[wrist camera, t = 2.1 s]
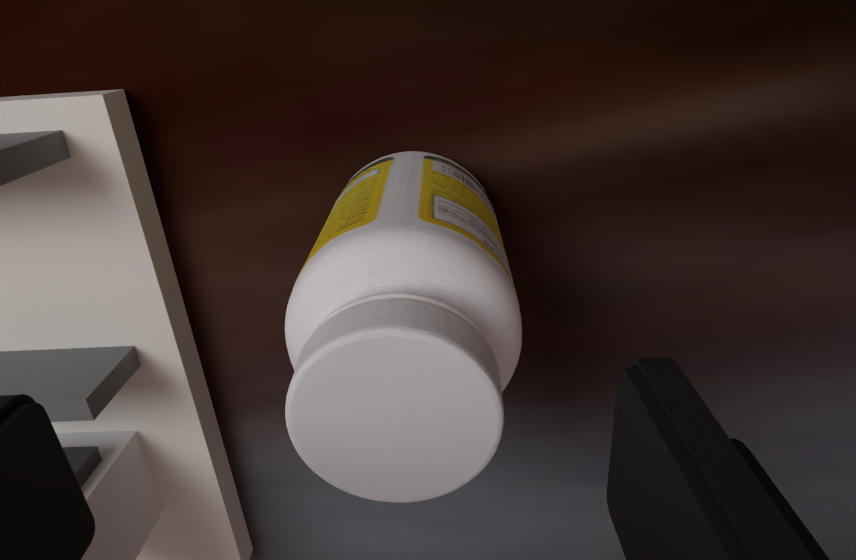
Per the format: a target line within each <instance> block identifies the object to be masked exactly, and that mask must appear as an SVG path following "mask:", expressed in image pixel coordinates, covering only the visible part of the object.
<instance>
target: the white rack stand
mask: <svg viewBox="0 0 856 560" xmlns="http://www.w3.org/2000/svg"><path fill="white" fill-rule="evenodd" d="M18 394H24V395H29V396H30V397H32V398H33V399H34V400H35V402H36V403H39V404H41V405H42V406H43V407H44V409H45V410H46V412H47V415H48V417H49V419H50V421H51V423H52V426H53V428H54V430H55V432H56V435H57V437H58V439H59V441H60V443H61V446H62V448H63V450H64V452H65V455H66V457H67V459H68V461H69V464H70V466H71V468H72V470H73V472H74V475H75V477H76V479H77V481H78V484H79V486H80V488H81V490H82V492H83V495H84V497H85V499H86V501H87V504H88V506H89V508H90V510H91V512H92V515H93V517H94V520H95V534H94V537H93V540H92V542H91V544H90V546H89V547H88V549H87V551H86V552H85V554H84V555H83V557H82V559H81V560H250V557H251V554H252V551H253V547H252V544H251V540H250V536H249V533H248V529H247V526H246V522H245V519H244V515H243V512H242V508H241V504H240V501H239V497H238V494H237V490H236V487H235V483H234V480H233V476H232V472H231V469H230V465H229V462H228V458H227V455H226V451H225V448H224V444H223V440H222V437H221V433H220V430H219V426H218V423H217V419H216V416H215V412H214V408H213V405H212V401H211V398H210V394H209V391H208V387H207V384H206V380H205V376H204V373H203V369H202V366H201V362H200V359H199V355H198V352H197V348H196V344H195V341H194V337H193V334H192V330H191V327H190V323H189V320H188V316H187V312H186V309H185V305H184V302H183V298H182V295H181V291H180V288H179V284H178V280H177V277H176V273H175V270H174V266H173V263H172V259H171V256H170V252H169V248H168V245H167V241H166V238H165V234H164V231H163V227H162V224H161V220H160V216H159V213H158V209H157V206H156V202H155V199H154V195H153V192H152V188H151V184H150V181H149V177H148V174H147V170H146V167H145V163H144V160H143V156H142V153H141V149H140V145H139V142H138V138H137V135H136V131H135V128H134V124H133V121H132V117H131V113H130V110H129V106H128V103H127V99H126V96H125V92H124V89H120V90H104V91H89V92H74V93H58V94H43V95H28V96H12V97H0V396H1V395H18Z"/></svg>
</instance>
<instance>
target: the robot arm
mask: <svg viewBox="0 0 856 560" xmlns="http://www.w3.org/2000/svg"><path fill="white" fill-rule="evenodd" d="M607 503H608V508H609V513H610V516H611V519H612V522H613V524H614V527H615V530H616V533H617V535H618V538H619V541H620V543H621V546H622V549H623V552H624V554H625V557H626V560H829V558H828V557H827V556H826V554H825V553H824V551H823V550H822V549H821V547H820V546H819V545H818V543H817V542H816V540H815V539H814V538H813V536H812V535H811V534H810V532H809V531H808V529H807V528H806V527H805V525H804V524H803V523H802V521H801V520H800V519H799V517H798V516H797V514H796V513H795V512H794V510H793V509H792V508H791V506H790V505H789V503H788V502H787V501H786V499H785V498H784V497H783V495H782V494H781V493H780V491H779V490H778V488H777V487H776V486H775V484H774V483H773V482H772V480H771V479H770V477H769V476H768V475H767V473H766V472H765V471H764V469H763V468H762V467H761V465H760V464H759V462H758V461H757V460H756V458H755V457H754V456H753V454H752V453H751V451H750V450H749V449H748V448H747V447H746V446H745V445H744V444H743V443H742V442H741V441H739V440H737V439H729V437H728V436H727V435H726V433H725V432H724V430H723V429H722V427H721V426H720V425H719V423H718V422H717V420H716V419H715V417H714V416H713V415H712V413H711V412H710V410H709V409H708V408H707V406H706V405H705V403H704V402H703V400H702V399H701V398H700V396H699V395H698V393H697V392H696V390H695V389H694V388H693V386H692V385H691V383H690V382H689V380H688V379H687V378H686V376H685V375H684V373H683V372H682V371H681V369H680V368H679V366H678V365H677V363H676V362H675V361H674V360H673V359H672V358H670V357H658V358H641V359H634V360H632V362H631V364H630V368H626V369H621V370H620V372H619V376H618V386H617V396H616V406H615V416H614V425H613V435H612V445H611V455H610V465H609V475H608V485H607ZM94 534H95V520H94V517H93V515H92V512H91V510H90V508H89V506H88V504H87V501H86V499H85V497H84V495H83V492H82V490H81V488H80V486H79V484H78V481H77V479H76V477H75V475H74V472H73V470H72V468H71V466H70V464H69V461H68V459H67V457H66V455H65V452H64V450H63V448H62V446H61V443H60V441H59V439H58V437H57V435H56V432H55V430H54V428H53V426H52V423H51V421H50V419H49V417H48V415H47V412H46V410H45V409H44V407H43V406H42V405H41V404H39V403H36V402H35V400H34V399H33V398H32V397H30V396H29V395H24V394H18V395H1V396H0V560H81V559H82V557H83V555H84V554H85V552H86V551H87V549H88V547H89V546H90V544H91V542H92V540H93V537H94Z"/></svg>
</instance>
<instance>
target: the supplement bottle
mask: <svg viewBox="0 0 856 560" xmlns="http://www.w3.org/2000/svg"><path fill="white" fill-rule="evenodd" d="M285 337H286V344H287V349H288V353H289V357H290V360H291V363H292V366H293V368H294V374H293V377H292V380H291V383H290V386H289V389H288V393H287V398H286V408H285V417H286V425H287V429H288V432H289V436H290V439H291V441H292V443H293V445H294V447H295V449H296V451H297V452H298V454H299V455H300V457H301V458H302V459H303V461H304V462H305V463H306V464H307V465H308V466H309V467H310V468H311V469H312V470H313V471H314V472H315V473H316V474H317V475H319V476H320V477H321V478H322V479H324V480H325V481H327V482H328V483H330V484H331V485H333V486H335V487H337V488H339V489H341V490H343V491H345V492H348V493H350V494H352V495H356V496H359V497H362V498H365V499H370V500H375V501H384V502H398V503H403V502H416V501H423V500H427V499H431V498H435V497H439V496H442V495H444V494H447V493H449V492H452V491H454V490H456V489H458V488H459V487H461V486H463V485H465V484H466V483H468V482H469V481H471V480H472V479H473V478H474V477H476V476H477V475H478V474H479V473H480V472H481V471H482V470H483V469H484V468H485V467H486V465H487V464H488V463H489V461H490V460H491V459H492V457H493V455H494V453H495V452H496V450H497V447H498V445H499V442H500V440H501V437H502V432H503V427H504V406H503V399H502V392H503V390H504V389H505V387H506V386H507V384H508V383H509V381H510V379H511V377H512V375H513V373H514V371H515V368H516V366H517V363H518V360H519V356H520V351H521V345H522V323H521V314H520V307H519V302H518V298H517V294H516V291H515V286H514V283H513V279H512V276H511V272H510V269H509V264H508V260H507V257H506V253H505V249H504V245H503V241H502V237H501V234H500V230H499V227H498V223H497V219H496V216H495V212H494V209H493V206H492V203H491V201H490V199H489V197H488V195H487V194H486V192H485V190H484V189H483V187H482V186H481V185H480V183H479V182H478V181H477V179H476V178H475V177H474V176H473V175H472V174H470V173H469V172H468V171H467V170H466V169H464V168H463V167H461V166H460V165H459V164H457V163H455V162H453V161H452V160H450V159H447V158H445V157H442V156H439V155H436V154H432V153H426V152H416V151H408V152H400V153H394V154H391V155H387V156H384V157H382V158H379V159H377V160H375V161H373V162H371V163H370V164H368V165H366V166H365V167H364V168H362V169H361V170H360V171H358V172H357V173H356V174H355V175H354V176H353V177H352V178H351V179H350V181H349V182H348V183H347V185H346V186H345V188H344V189H343V190H342V192H341V194H340V195H339V197H338V199H337V201H336V203H335V205H334V207H333V209H332V211H331V213H330V215H329V217H328V219H327V221H326V223H325V225H324V227H323V229H322V231H321V233H320V235H319V237H318V239H317V241H316V243H315V245H314V247H313V249H312V251H311V253H310V255H309V256H308V258H307V260H306V262H305V264H304V266H303V268H302V270H301V272H300V274H299V276H298V278H297V280H296V282H295V285H294V288H293V290H292V293H291V296H290V299H289V302H288V306H287V310H286V318H285Z"/></svg>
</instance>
